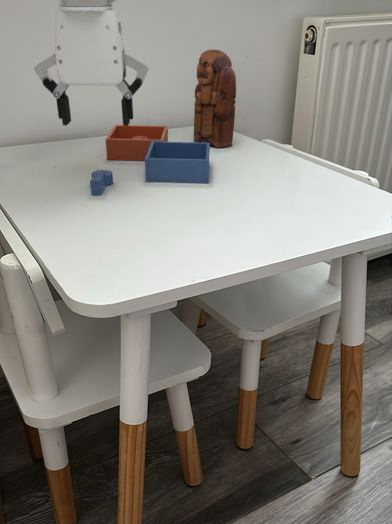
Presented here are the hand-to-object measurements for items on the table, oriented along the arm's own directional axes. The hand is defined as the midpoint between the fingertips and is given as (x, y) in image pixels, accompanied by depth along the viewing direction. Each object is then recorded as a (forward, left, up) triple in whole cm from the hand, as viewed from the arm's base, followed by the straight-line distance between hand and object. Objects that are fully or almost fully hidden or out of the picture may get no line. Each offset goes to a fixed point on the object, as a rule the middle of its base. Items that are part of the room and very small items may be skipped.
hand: (96, 123), depth 90 cm
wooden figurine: (+19, +33, -11) cm, 40 cm away
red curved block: (+4, +24, -10) cm, 26 cm away
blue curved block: (0, 0, -11) cm, 11 cm away
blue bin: (+13, +10, -11) cm, 19 cm away
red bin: (+4, +23, -11) cm, 26 cm away
